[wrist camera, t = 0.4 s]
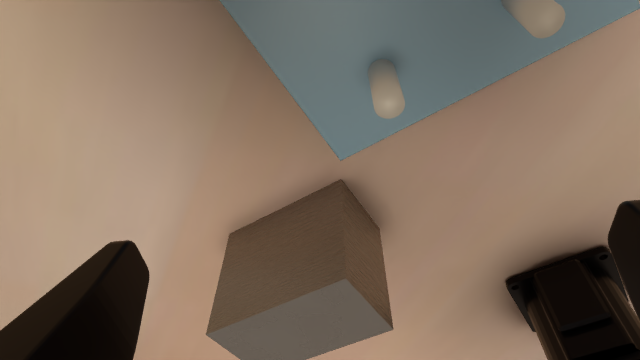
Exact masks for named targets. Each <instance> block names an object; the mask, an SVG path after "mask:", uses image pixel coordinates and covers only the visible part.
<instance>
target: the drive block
mask: <svg viewBox="0 0 640 360" xmlns="http://www.w3.org/2000/svg"><path fill="white" fill-rule="evenodd" d="M391 330H393V323H392V316H391V309H390V302H389V294H388V287H387V280H386V273H385V265H384V258H383V251H382V244H381V236H380V229H379V227H378V226H377V225H376V223H375V222H374V221H373V220H372V218H371V217H370V216H369V214H368V213H367V212H366V211H365V209H364V208H363V207H362V205H361V204H360V203H359V202H358V200H357V199H356V198H355V196H354V195H353V194H352V193H351V191H350V190H349V189H348V188H347V186H346V185H345V184H344V182H343V181H342V180H341V179H340V180H338V181H336V182H334V183H332V184H330V185H328V186H326V187H324V188H322V189H320V190H318V191H316V192H314V193H312V194H310V195H308V196H306V197H304V198H302V199H300V200H298V201H296V202H294V203H292V204H290V205H288V206H286V207H284V208H282V209H280V210H278V211H276V212H273V213H271V214H269V215H267V216H265V217H263V218H261V219H259V220H257V221H255V222H253V223H251V224H249V225H247V226H245V227H243V228H241V229H239V230H237V231H235V232H233V233H231V234H230V235H229V239H228V243H227V247H226V252H225V256H224V260H223V264H222V269H221V273H220V277H219V281H218V286H217V290H216V294H215V298H214V303H213V307H212V311H211V315H210V320H209V324H208V328H207V332H206V335H207V336H208V337H210V338H211V339H213V340H214V341H215V342H217V343H218V344H220V345H221V346H222V347H224V348H225V349H227V350H228V351H229V352H231V353H232V354H234V355H235V356H236V357H238V358H239V359H240V360H306V359H309V358H312V357H315V356H318V355H321V354H324V353H326V352H329V351H332V350H335V349H338V348H341V347H344V346H347V345H350V344H353V343H356V342H359V341H362V340H364V339H367V338H370V337H373V336H376V335H379V334H382V333H385V332H388V331H391Z"/></svg>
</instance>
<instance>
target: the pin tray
mask: <svg viewBox="0 0 640 360" xmlns="http://www.w3.org/2000/svg"><path fill="white" fill-rule="evenodd" d="M220 2H221V3H222V4H223V6H224V7H225V8H226V10H227V11H228V12H229V14H230V15H231V16H232V18H233V19H234V20H235V21H236V23H237V24H238V25H239V27H240V28H241V29H242V31H243V32H244V33H245V35H246V36H247V37H248V39H249V40H250V41H251V43H252V44H253V45H254V47H255V48H256V49H257V51H258V52H259V53H260V55H261V56H262V57H263V59H264V60H265V61H266V63H267V64H268V65H269V67H270V68H271V69H272V70H273V72H274V73H275V74H276V76H277V77H278V78H279V80H280V81H281V82H282V84H283V85H284V86H285V88H286V89H287V90H288V92H289V93H290V94H291V96H292V97H293V98H294V100H295V101H296V102H297V104H298V105H299V106H300V108H301V109H302V110H303V112H304V113H305V114H306V115H307V117H308V118H309V119H310V121H311V122H312V123H313V125H314V126H315V127H316V129H317V130H318V131H319V133H320V134H321V135H322V137H323V138H324V139H325V141H326V142H327V143H328V145H329V146H330V147H331V149H332V150H333V151H334V153H335V154H336V155H337V157H338V158H339V159H340V161H341V160H343V159H345V158H347V157H349V156H351V155H353V154H355V153H357V152H359V151H361V150H363V149H365V148H367V147H369V146H371V145H373V144H375V143H377V142H379V141H381V140H382V139H384V138H386V137H388V136H390V135H392V134H394V133H396V132H398V131H400V130H402V129H404V128H406V127H408V126H410V125H412V124H414V123H416V122H418V121H420V120H422V119H424V118H426V117H428V116H430V115H432V114H434V113H435V112H437V111H439V110H441V109H443V108H445V107H447V106H449V105H451V104H453V103H455V102H457V101H459V100H461V99H463V98H465V97H467V96H469V95H471V94H473V93H475V92H477V91H479V90H481V89H483V88H485V87H486V86H488V85H490V84H492V83H494V82H496V81H498V80H500V79H502V78H504V77H506V76H508V75H510V74H512V73H514V72H516V71H518V70H520V69H522V68H524V67H526V66H528V65H530V64H532V63H534V62H536V61H538V60H539V59H541V58H543V57H545V56H547V55H549V54H551V53H553V52H555V51H557V50H559V49H561V48H563V47H565V46H567V45H569V44H571V43H573V42H575V41H577V40H579V39H581V38H583V37H585V36H587V35H589V34H591V33H592V32H594V31H596V30H598V29H600V28H602V27H604V26H606V25H608V24H610V23H612V22H614V21H616V20H618V19H620V18H622V17H624V16H626V15H628V14H630V13H632V12H634V11H636V10H638V9H640V4H639V0H220Z"/></svg>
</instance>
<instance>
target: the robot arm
mask: <svg viewBox="0 0 640 360" xmlns="http://www.w3.org/2000/svg"><path fill="white" fill-rule="evenodd" d="M608 245H609V248H610V250H609V249H608V248H607V247H600V248H596V249H594V250H591V251H588V252H585V253H582V254H579V255H576V256H574V257H571V258H568V259H565V260H562V261H559V262H557V263H554V264H551V265H548V266H545V267H542V268H539V269H537V270H534V271H531V272H528V273H525V274H522V275H519V276H517V277H514V278H511V279H509V280H508V281H506V287H507V289H508V291H509V293H510V294H511V296H512V298H513V299H514V301H515V303H516V304H517V306H518V308H519V309H520V311H521V313H522V314H523V316H524V318H525V319H526V321H527V323H528V324H529V326H530V328H531V329H532V331H533V332H536V333H537V336H538V338H539V340H540V343H541V345H542V347H543V350H544V352H545V355H546V357H547V359H548V360H640V200H632V201H625V202H622V203H621V204H620V205H619V207H618V209H617V212H616V214H615V217H614V220H613V223H612V225H611V228H610V231H609V234H608ZM610 251H611V252H610ZM615 263H616V264H615ZM616 266H617V267H616ZM617 268H618V270H619V273H620V275H621V278H622V280H623V283H624V285H625V288H626V290H627V293H628V295H629V297H630V300H631V302H632V305H633V307H634V310H635V312H636V314H637V315H636V314H635V312H634V311H633V309H632V308H631V306H630V304H629V303H628V298H627V295H626V293H625V290H624V287H623V284H622V281H621V278H620V275H619V273H618V270H617ZM148 283H149V270H148V267H147V265H146V263H145V261H144V259H143V258H142V256H141V254H140V252H139V250H138V248H137V246H136V245H135V243H133V242H132V241H129V240H126V241H114V242H110V243H108V244H107V245H106V246H104V247H103V248H102V249H101V250H100V251H98V252H97V253H96V254H95V255H93V256H92V257H91V258H90V259H88V260H87V261H86V262H85V263H83V264H82V265H81V266H80V267H78V268H77V269H76V270H75V271H74V272H72V273H71V274H70V275H69V276H67V277H66V278H65V279H64V280H62V281H61V282H60V283H59V284H57V285H56V286H55V287H54V288H52V289H51V290H50V291H49V292H48V293H46V294H45V295H44V296H43V297H41V298H40V299H39V300H38V301H36V302H35V303H34V304H33V305H31V306H30V307H29V308H28V309H26V310H25V311H24V312H23V313H22V314H20V315H19V316H18V317H17V318H15V319H14V320H13V321H12V322H10V323H9V324H8V325H7V326H5V327H4V328H3V329H2V330H0V360H133V357H134V353H135V349H136V345H137V340H138V335H139V330H140V325H141V320H142V315H143V309H144V304H145V299H146V294H147V289H148Z"/></svg>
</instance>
